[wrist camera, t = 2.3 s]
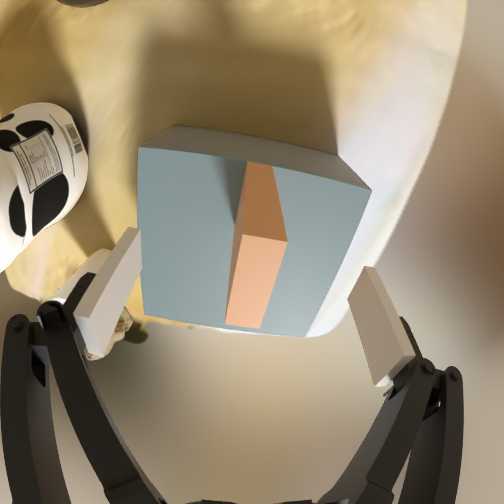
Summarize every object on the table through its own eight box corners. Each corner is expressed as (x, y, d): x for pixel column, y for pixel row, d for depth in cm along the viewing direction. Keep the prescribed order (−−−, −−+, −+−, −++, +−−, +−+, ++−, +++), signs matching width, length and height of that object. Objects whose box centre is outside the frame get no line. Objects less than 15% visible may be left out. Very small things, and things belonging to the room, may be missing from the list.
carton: (173, 124, 29) (142, 144, 21) (338, 155, 31) (368, 186, 23) (165, 260, 40) (146, 308, 32) (295, 280, 42) (303, 331, 34)
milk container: (8, 178, 31) (-63, 236, 16) (33, 81, 23) (-65, 113, 8) (78, 226, 37) (15, 308, 22) (117, 128, 29) (20, 183, 14)
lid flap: (142, 144, 21) (61, 207, 11) (368, 186, 23) (436, 269, 13) (146, 308, 32) (119, 393, 22) (303, 331, 34) (315, 416, 24)
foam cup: (145, 273, 42) (118, 337, 31) (112, 293, 45) (85, 350, 34) (105, 230, 37) (64, 288, 27) (76, 255, 40) (39, 310, 29)
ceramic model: (85, 285, 44) (62, 324, 36) (137, 310, 47) (121, 354, 39) (80, 324, 51) (63, 359, 43) (124, 345, 54) (111, 382, 46)
